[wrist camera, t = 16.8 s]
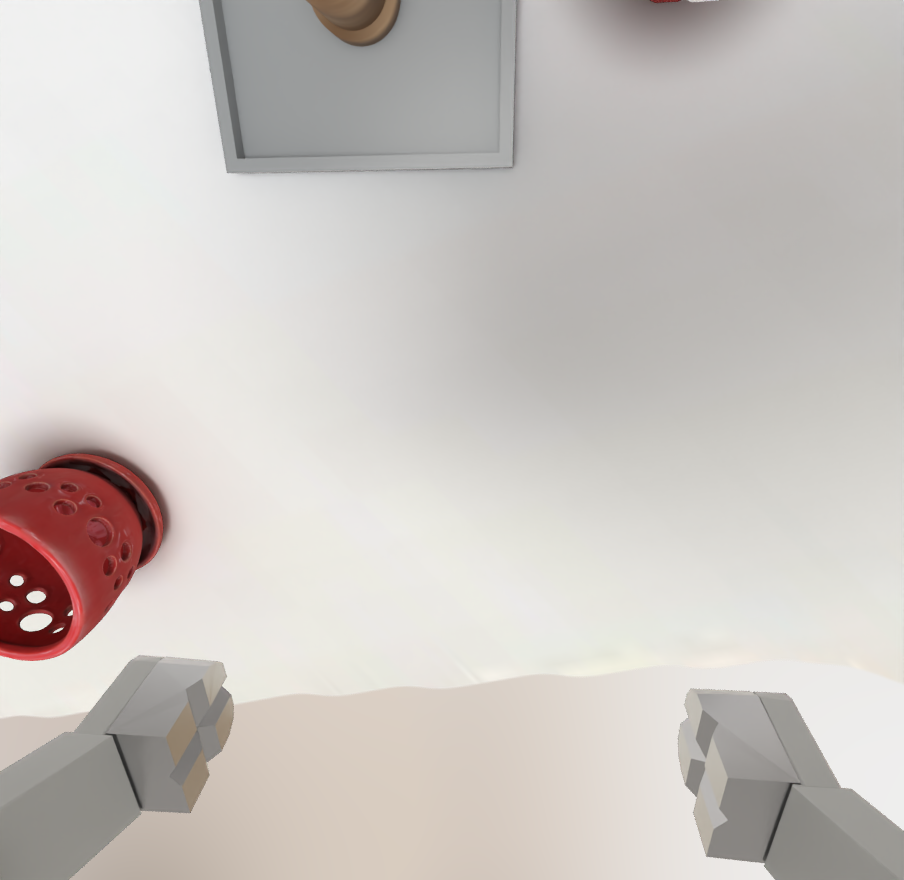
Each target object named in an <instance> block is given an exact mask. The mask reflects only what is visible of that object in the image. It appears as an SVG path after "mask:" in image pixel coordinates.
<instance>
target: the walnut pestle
mask: <svg viewBox="0 0 904 880" xmlns="http://www.w3.org/2000/svg"><path fill="white" fill-rule="evenodd" d="M306 1H307V2H308V3H310V4H311V5H312V8H313V10H314V12H315V14H316V16H317V17H318V19H319V21H320V22H321V23H322V24H323V25H324V26H325V27H326V28H327V29H328V30H329V31H330V32H331V33H333V34H334V35H335V36H336V37H338V38H339V39H340V40H342V41H343V42H345V43H347V44H350V45H353V46H359V47H364V46H370V45H373V44H375V43H377V42H379V41H381V40H382V39H383V38H384V37H385V36H387V34H388V33H389V32H390V31H391V29H392V28H393V26H394V24H395V22H396V20H397V17H398V14H399V10H400V2H401V0H306Z"/></svg>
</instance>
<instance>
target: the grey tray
mask: <svg viewBox="0 0 904 880" xmlns="http://www.w3.org/2000/svg"><path fill="white" fill-rule="evenodd" d="M199 4H200V10H201V17H202V23H203V29H204V35H205V41H206V47H207V53H208V60H209V66H210V72H211V78H212V84H213V90H214V96H215V102H216V109H217V115H218V121H219V127H220V133H221V139H222V145H223V151H224V158H225V164H226V170H227V173H279V172H326V171H374V170H421V169H468V168H512V167H513V124H514V82H515V39H516V0H401V2H400V10H399V14H398V17H397V20H396V22H395V24H394V26H393V28H392V29H391V31H390V32H389V33H388V34H387V36H385V37H384V38H383V39H382V40H381V41H379V42H377V43H375V44H373V45H370V46H364V47H359V46H353V45H350V44H347V43H345V42H343V41H342V40H340V39H339V38H338V37H336V36H335V35H334V34H333V33H331V32H330V31H329V30H328V29H327V28H326V27H325V26H324V25H323V24H322V23H321V22H320V21H319V19H318V17H317V16H316V14H315V12H314V10H313V8H312V5H311V4H310V3H308V2H307V1H306V0H199Z"/></svg>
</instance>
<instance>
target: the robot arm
mask: <svg viewBox="0 0 904 880" xmlns="http://www.w3.org/2000/svg"><path fill="white" fill-rule="evenodd" d="M226 677H227V675H226V672H225V669H224V665H223V663H221V662H217V661H208V660H196V659H185V658H173V657H157V656H144V655H139V656H137V657H136V658H134V659H132V660H131V661H130V662H129V663H128V664H127V665H126V667H125V668H124V669H123V671H122V672H121V673H120V674H119V676H118V677H117V678H116V679H115V681H114V682H113V683H112V684H111V686H110V687H109V688H108V689H107V691H106V692H105V693H104V694H103V696H102V697H101V698H100V700H99V701H98V702H97V703H96V705H95V706H94V707H93V708H92V710H91V711H90V712H89V714H88V715H87V716H86V717H85V718H84V720H83V721H82V722H81V723H80V725H79V726H78V727H77V729H76V730H75V731H74V732H64V733H63V734H61V735H60V736H58V737H56V738H54V739H53V740H51V741H50V742H48V743H46V744H45V745H43V746H41V747H40V748H38V749H37V750H35V751H33V752H32V753H30V754H28V755H27V756H25V757H23V758H22V759H20V760H18V761H17V762H15V763H14V764H12V765H10V766H9V767H7V768H5V769H4V770H2V771H0V880H69V879H70V878H71V877H72V876H74V875H75V874H76V873H77V872H78V871H79V870H80V869H81V868H82V867H83V866H85V865H86V864H87V863H88V862H89V861H90V860H91V859H92V858H93V857H94V856H95V855H97V854H98V853H99V852H100V851H101V850H102V849H103V848H104V847H105V846H106V845H108V844H109V843H110V842H111V841H112V840H113V839H114V838H115V837H116V836H117V835H119V834H120V833H121V832H122V831H123V830H124V829H125V828H126V827H127V826H128V825H130V824H131V823H132V822H133V821H134V820H135V819H136V818H137V817H138V816H139V815H141V811H158V812H178V813H191V811H192V809H193V807H194V805H195V803H196V801H197V799H198V797H199V795H200V793H201V791H202V789H203V787H204V785H205V783H206V781H207V779H208V777H209V770H208V764H207V762H208V761H209V760H211V759H212V758H213V757H215V756H216V755H217V754H219V753H220V752H221V751H222V749H223V747H224V745H225V743H226V741H227V739H228V737H229V734H230V729H231V726H232V722H233V715H234V712H233V711H234V705H233V700H232V696H231V694H230V693H229V692H228V691H227V690H226V689H225V688H223V687H222V684H223V683H224V681H225V679H226ZM685 708H686V711H687V714H688V718H687V719H686V720H685V721H683V722H682V723H681V724H680V730H679V735H678V754H679V761H680V766H681V772H682V775H683V778H684V782H685V785H686V786H687V787H688V788H689V789H690V790H691V791H692V793H693V794H694V795H695V796H696V797H697V799H696V804H695V808H694V812H693V813H694V817H695V820H696V823H697V827H698V830H699V833H700V837H701V840H702V843H703V847H704V850H705V853H706V856H707V857H715V858H724V859H733V860H742V861H750V862H760V863H765V865H764V867H765V868H766V869H767V870H768V871H769V873H770V874H771V875H772V876H773V878H774V879H775V880H904V831H903V830H902V829H901V828H899V827H898V826H897V825H896V824H894V823H893V822H892V821H891V820H889V819H888V818H887V817H886V816H885V815H883V814H882V813H881V812H880V811H878V810H877V809H876V808H875V807H873V806H872V805H871V804H870V803H868V802H867V801H866V800H865V799H864V798H862V797H861V796H860V795H859V794H857V793H856V792H855V791H854V790H852V789H848V788H841V787H840V785H839V783H838V781H837V779H836V777H835V776H834V774H833V772H832V770H831V768H830V767H829V765H828V763H827V761H826V760H825V758H824V756H823V754H822V752H821V750H820V749H819V747H818V745H817V743H816V741H815V740H814V738H813V736H812V734H811V733H810V731H809V729H808V727H807V725H806V723H805V722H804V720H803V718H802V716H801V714H800V713H799V711H798V709H797V707H796V705H795V704H794V702H793V700H792V699H791V698H790V697H789V696H788V695H787V694H786V693H767V692H750V691H733V690H712V689H711V690H710V689H690V690H689V692H688V693H687V696H686V700H685Z"/></svg>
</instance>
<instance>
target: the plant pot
mask: <svg viewBox="0 0 904 880" xmlns="http://www.w3.org/2000/svg"><path fill="white" fill-rule="evenodd" d="M162 536H163V521H162V515H161V512H160V508H159V506H158V504H157V501H156V499H155V498H154V496H153V494H152V493H151V491H150V490H149V489H148V487H147V486H146V485H145V484H144V483H143V482H142V481H141V480H140V479H139V478H138V477H137V476H136V475H135V474H134V473H133V472H131V471H130V470H128V469H127V468H125V467H124V466H122V465H120V464H118V463H116V462H114V461H112V460H109V459H107V458H103V457H100V456H96V455H90V454H67V455H63V456H59V457H56V458H54V459H52V460H50V461H48V462H46V463H45V464H44V465H42V466H41V467H40V468H39V469H38V470H32V471H27V472H22V473H18V474H15V475H11V476H8V477H5V478H3V479H1V480H0V603H1V602H4V601H8V602H11V603H12V604H13V605H14V608H13V610H11V611H3V610H2V609H0V656H4V657H9V658H12V659H17V660H27V661H36V660H45V659H50V658H54V657H57V656H59V655H62V654H64V653H65V652H67V651H68V650H70V649H71V648H72V647H74V646H75V645H76V644H77V643H78V642H79V641H81V640H82V639H83V638H84V637H85V636H86V635H87V634H88V633H89V632H90V631H91V630H92V629H93V628H94V627H95V626H96V625H97V624H98V623H99V622H100V621H101V620H102V618H103V617H104V616H105V615H106V614H107V612H108V611H109V610H110V608H111V607H112V606H113V604H114V603H115V601H116V600H117V598H118V597H119V595H120V594H121V592H122V591H123V590H124V589H125V587H126V586H127V585H128V583H129V582H130V580H131V578H132V576H133V574H134V572H135V570H137V569H139V568H141V567H143V566H144V565H146V564H147V563H148V562H150V561H151V560H152V559H153V558H154V556H155V555H156V553H157V552H158V550H159V547H160V545H161V541H162ZM14 575H19V576H21V577H23V580H24V583H23V584H22V585H21V586H13V585H12V584H11V583H10V579H11V577H12V576H14ZM33 591H41V592H43V593H44V594H45V595H46V598H45V600H43V601H42V602H40V603H37V604H36V603H31V602H29V601H28V600H27V598H26V596H27V595H28V594H29V593H30V592H33ZM71 610H73V615H72V616H67V615H68V613H69V612H70V611H71ZM36 613H44V614H48V615H50V616H51V617H52V622H51V623H50V624H49V625H48V626H47V627H45V628H43V629H42V630H39V631H33V632H29V631H25V630H23V629H21V627H20V622H21V620H22V619H23V618H25V617H26V616H28V615H31V614H36ZM63 627H64V628H63ZM59 628H63V629H62V630H61V631H59V632H57V633H53V632H54V631H55V630H57V629H59Z"/></svg>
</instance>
